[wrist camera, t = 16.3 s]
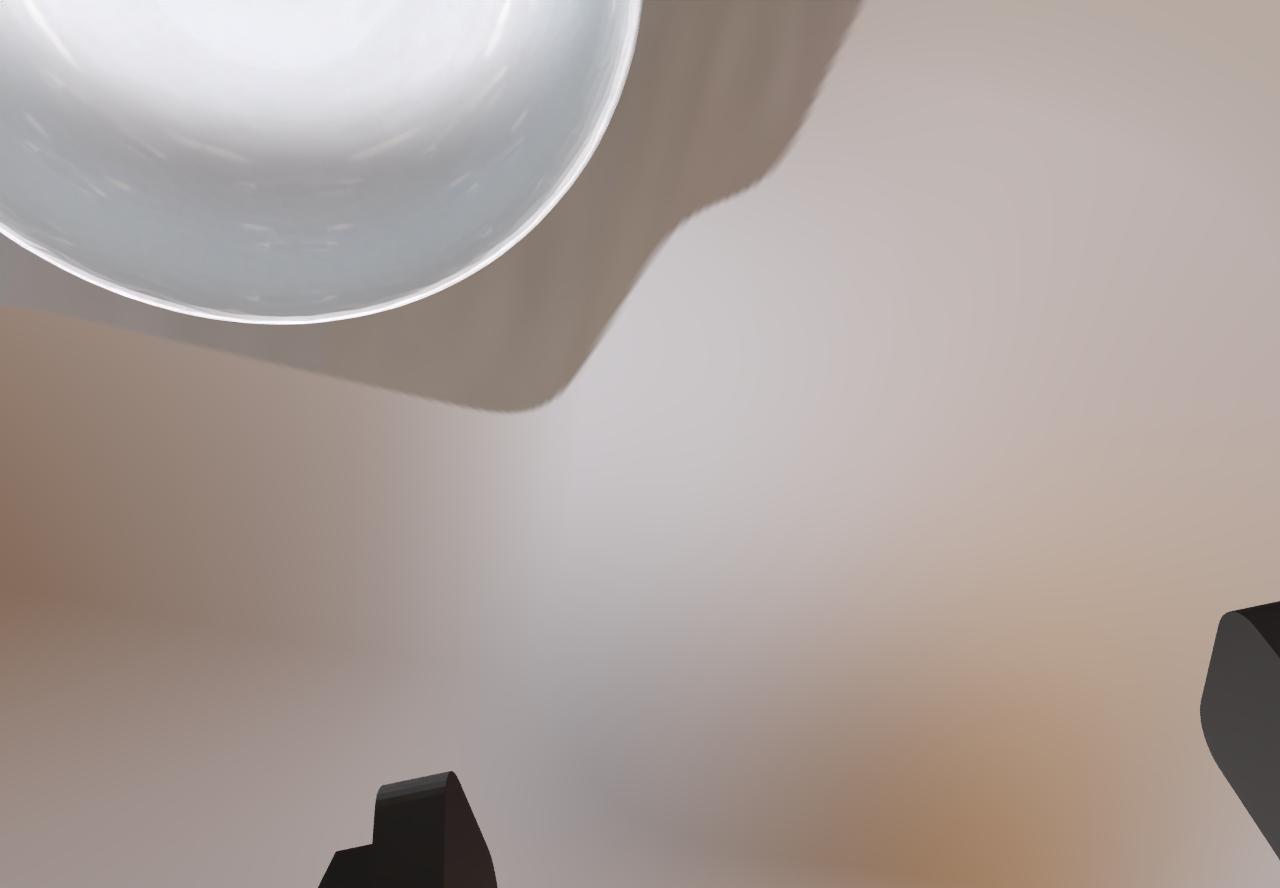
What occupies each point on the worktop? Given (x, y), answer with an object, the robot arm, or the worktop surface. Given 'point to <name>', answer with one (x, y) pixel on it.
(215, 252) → the serving bowl
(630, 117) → the worktop surface
